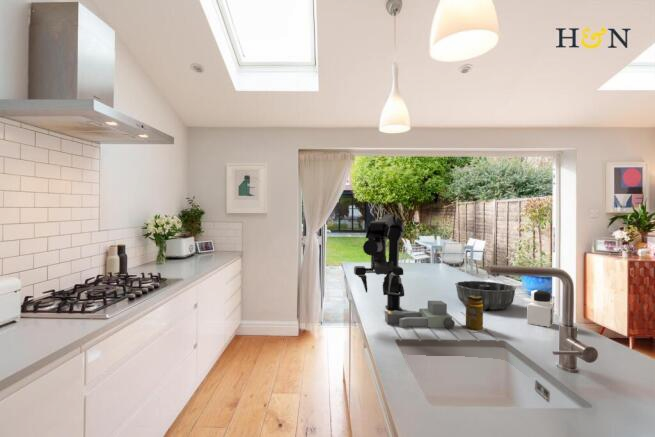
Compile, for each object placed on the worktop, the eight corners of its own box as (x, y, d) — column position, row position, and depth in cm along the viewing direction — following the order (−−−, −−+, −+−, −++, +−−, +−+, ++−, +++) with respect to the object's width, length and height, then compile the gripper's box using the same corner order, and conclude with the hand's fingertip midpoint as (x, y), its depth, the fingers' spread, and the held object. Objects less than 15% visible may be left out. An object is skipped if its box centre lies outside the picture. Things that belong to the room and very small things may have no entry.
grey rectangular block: (385, 321, 139) (385, 310, 139) (402, 321, 140) (402, 310, 140) (387, 324, 135) (387, 313, 135) (405, 324, 135) (405, 313, 135)
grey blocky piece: (391, 316, 145) (392, 297, 145) (440, 317, 145) (440, 298, 145) (400, 328, 130) (400, 307, 130) (454, 328, 130) (454, 307, 130)
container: (553, 323, 138) (554, 291, 138) (549, 328, 132) (549, 294, 132) (531, 319, 143) (532, 288, 143) (526, 323, 137) (527, 290, 137)
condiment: (487, 329, 130) (488, 297, 130) (474, 333, 125) (474, 300, 125) (470, 324, 136) (470, 293, 136) (457, 327, 132) (457, 296, 132)
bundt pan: (447, 299, 179) (448, 279, 179) (499, 300, 178) (499, 280, 178) (466, 312, 153) (466, 290, 153) (527, 314, 152) (527, 291, 152)
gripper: (357, 255, 128) (357, 297, 128) (407, 255, 129) (407, 297, 129) (353, 252, 139) (353, 290, 139) (399, 252, 140) (399, 290, 140)
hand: (378, 292), depth 136 cm, fingers open, 9 cm apart
